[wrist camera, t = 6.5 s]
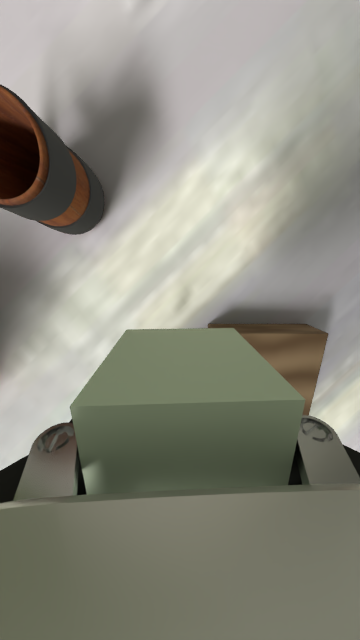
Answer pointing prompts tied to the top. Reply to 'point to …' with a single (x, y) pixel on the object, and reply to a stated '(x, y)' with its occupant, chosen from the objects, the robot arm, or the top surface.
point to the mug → (44, 172)
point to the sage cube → (185, 415)
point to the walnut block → (288, 352)
